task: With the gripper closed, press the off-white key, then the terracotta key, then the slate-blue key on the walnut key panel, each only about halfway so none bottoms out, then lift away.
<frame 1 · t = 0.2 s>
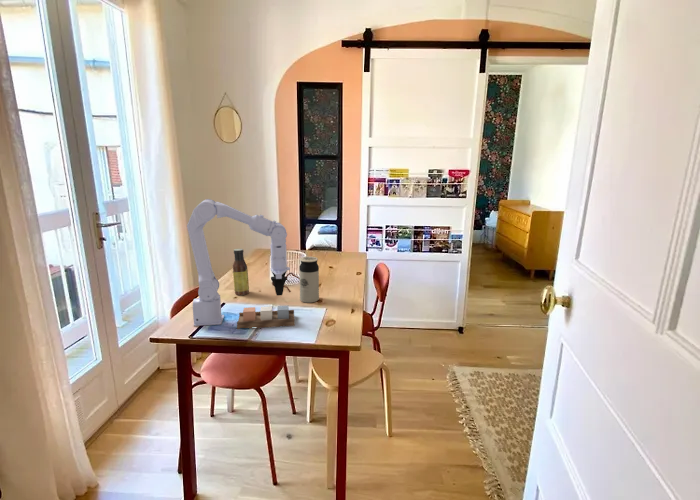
hand: (279, 291, 147), 10 cm above the table, tool pointing down, fingers open, 7 cm apart
sauce bottle: (241, 293, 173), on the table
glasses: (291, 287, 183), on the table
white key: (266, 313, 142), point 4 cm above the table, slide at 0.0 cm
key panel: (266, 322, 143), on the table
travel mug: (309, 300, 166), on the table
slate key: (283, 312, 143), point 4 cm above the table, slide at 0.0 cm
terracotta key: (249, 314, 141), point 4 cm above the table, slide at 0.0 cm
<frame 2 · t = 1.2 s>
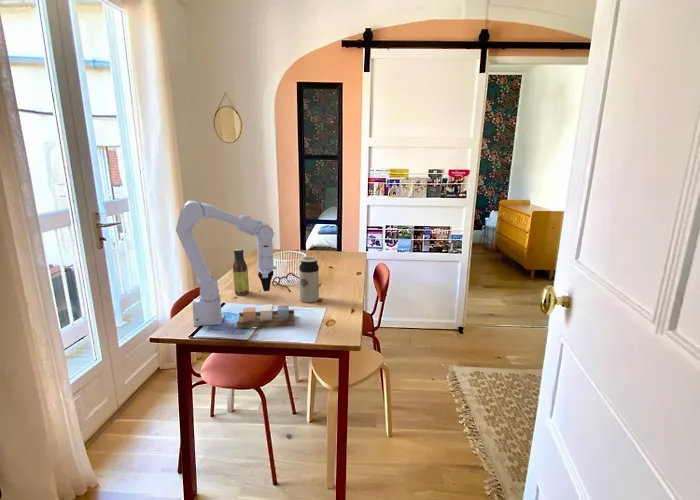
hand: (266, 290, 149), 9 cm above the table, tool pointing down, fingers closed
nothing on the table moved.
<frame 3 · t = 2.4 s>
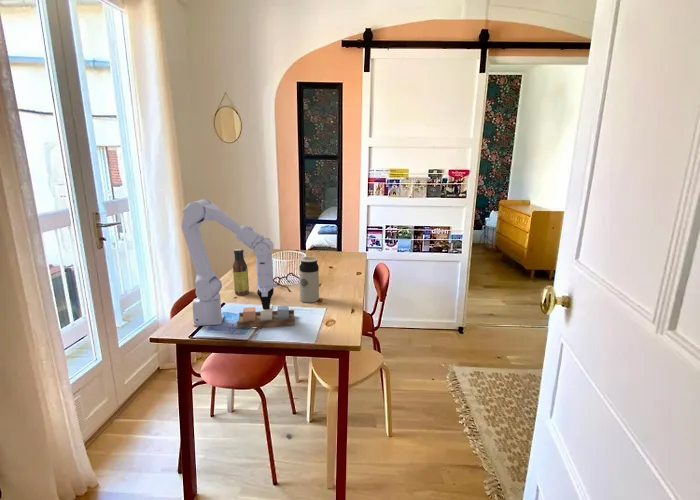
hand: (266, 308, 142), 5 cm above the table, tool pointing down, fingers closed, pressing on white key
white key: (266, 313, 142), point 4 cm above the table, slide at 0.0 cm, touching gripper
everything else where it was.
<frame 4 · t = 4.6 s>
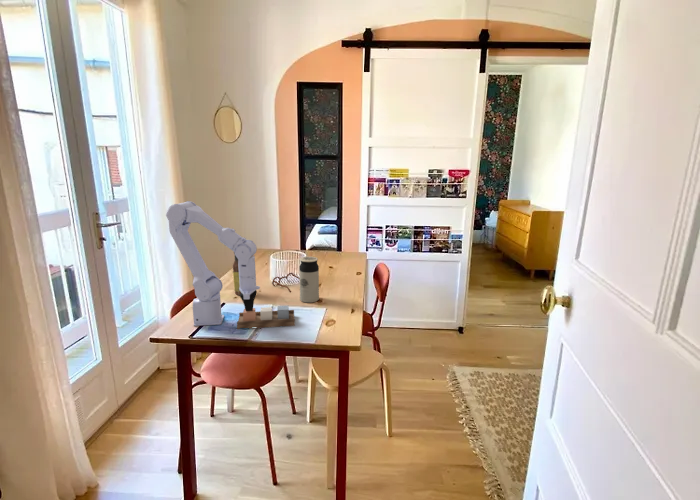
hand: (249, 311, 141), 5 cm above the table, tool pointing down, fingers closed, pressing on terracotta key
white key: (266, 313, 142), point 3 cm above the table, slide at 0.3 cm, touching key panel
terracotta key: (249, 314, 141), point 3 cm above the table, slide at 0.3 cm, touching gripper, key panel
everything else where it was.
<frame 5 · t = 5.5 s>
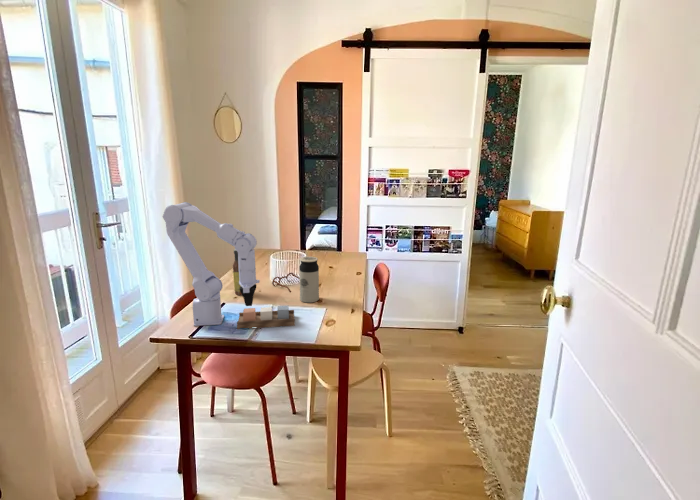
hand: (249, 305, 140), 7 cm above the table, tool pointing down, fingers closed
terracotta key: (249, 314, 141), point 3 cm above the table, slide at 0.3 cm, touching key panel
everything else where it was.
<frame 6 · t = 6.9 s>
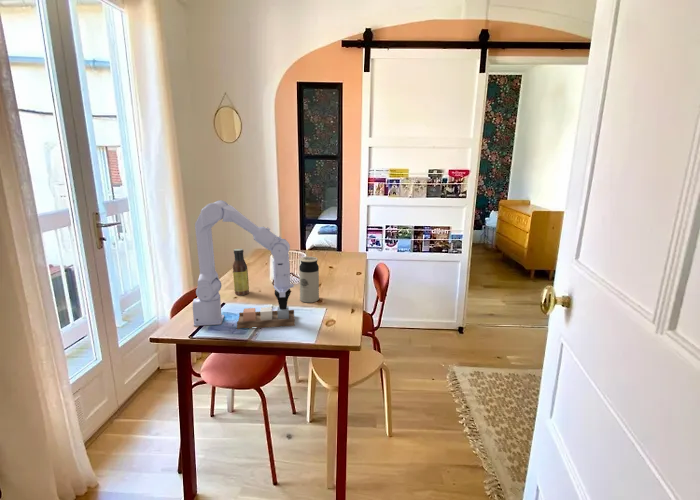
hand: (283, 309, 143), 5 cm above the table, tool pointing down, fingers closed, pressing on slate key
slate key: (283, 313, 143), point 3 cm above the table, slide at 0.3 cm, touching gripper, key panel
everything else where it was.
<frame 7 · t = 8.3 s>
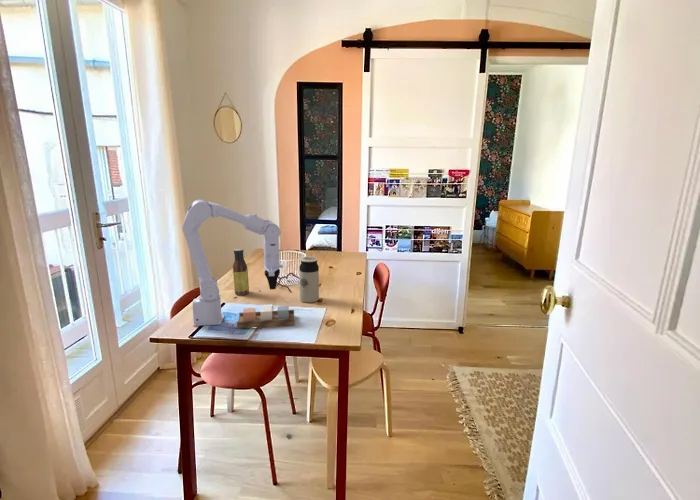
hand: (272, 288, 150), 10 cm above the table, tool pointing down, fingers closed
slate key: (283, 312, 143), point 3 cm above the table, slide at 0.2 cm
everything else where it was.
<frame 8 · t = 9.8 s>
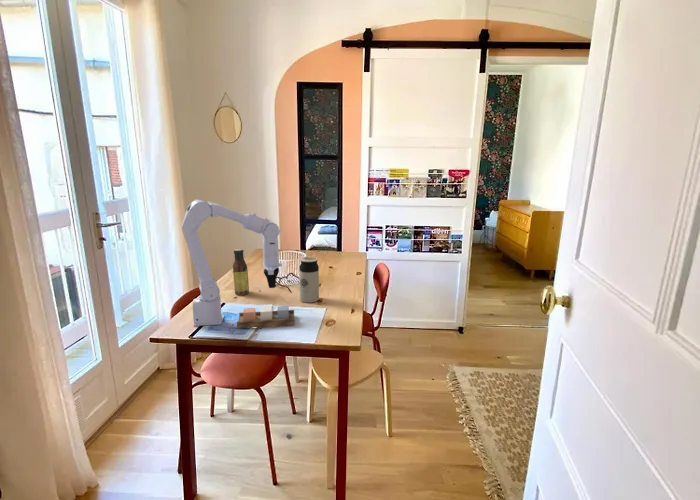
hand: (272, 287, 151), 10 cm above the table, tool pointing down, fingers closed
nothing on the table moved.
at the end: white key slide at 0.3 cm; terracotta key slide at 0.3 cm; slate key slide at 0.2 cm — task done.
